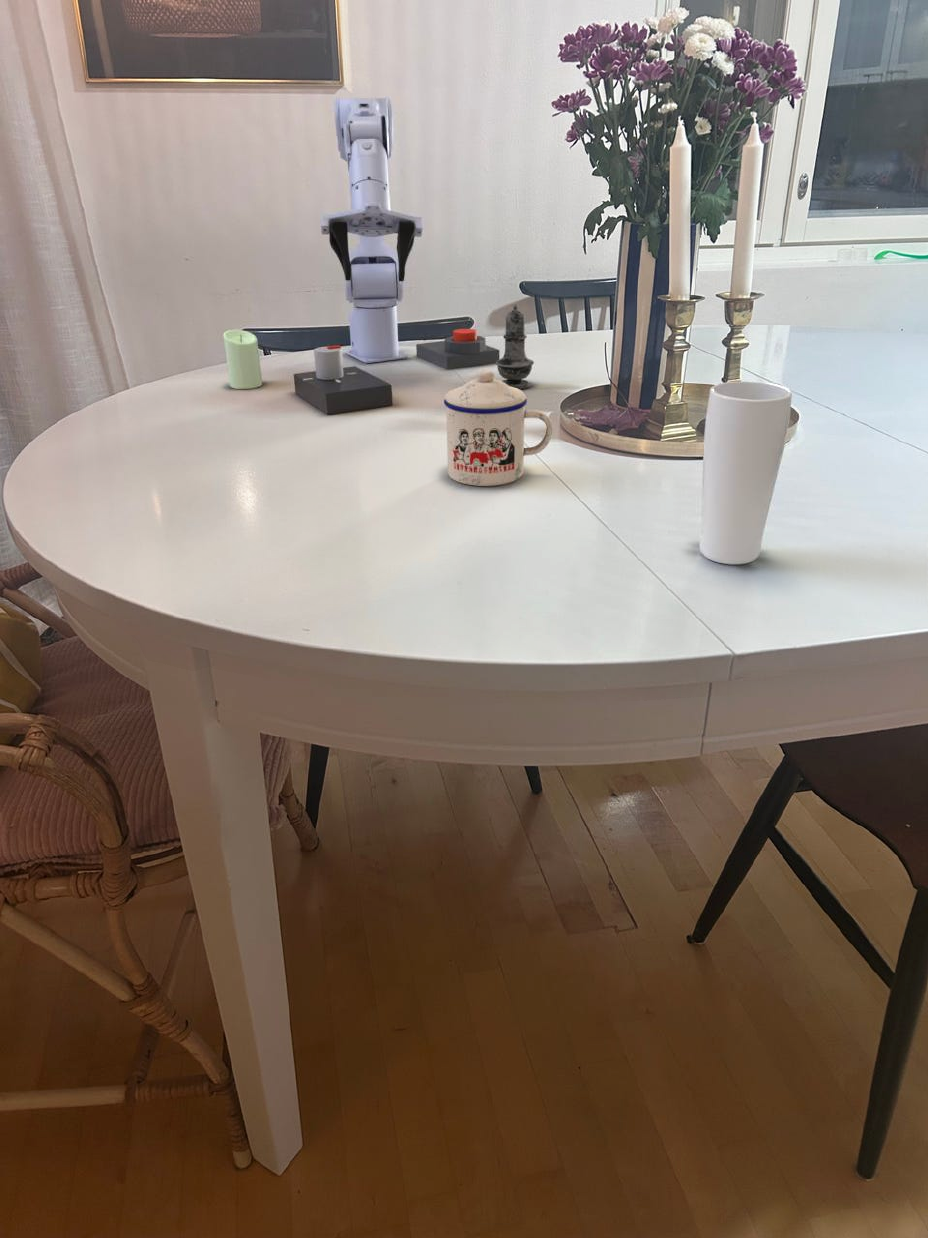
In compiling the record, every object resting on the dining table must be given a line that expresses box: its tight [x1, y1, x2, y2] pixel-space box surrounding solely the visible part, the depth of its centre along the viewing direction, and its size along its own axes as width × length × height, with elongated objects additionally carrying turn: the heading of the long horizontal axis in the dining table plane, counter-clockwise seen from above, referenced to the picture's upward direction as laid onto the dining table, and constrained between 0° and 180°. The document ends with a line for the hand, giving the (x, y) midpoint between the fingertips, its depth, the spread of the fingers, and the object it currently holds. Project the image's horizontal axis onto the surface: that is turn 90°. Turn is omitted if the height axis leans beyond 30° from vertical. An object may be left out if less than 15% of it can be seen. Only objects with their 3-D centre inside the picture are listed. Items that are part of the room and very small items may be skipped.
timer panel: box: [293, 365, 394, 416], centre depth 133 cm, size 14×10×3 cm
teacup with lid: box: [443, 369, 554, 487], centre depth 100 cm, size 12×9×12 cm
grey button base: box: [415, 335, 500, 370], centre depth 156 cm, size 12×10×4 cm
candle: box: [222, 329, 263, 390], centre depth 140 cm, size 5×5×8 cm
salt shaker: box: [495, 304, 535, 391], centre depth 137 cm, size 6×6×12 cm
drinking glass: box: [699, 380, 793, 565], centre depth 79 cm, size 7×7×15 cm
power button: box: [452, 328, 478, 342], centre depth 152 cm, size 4×4×2 cm
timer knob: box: [313, 344, 344, 380], centre depth 133 cm, size 4×4×4 cm
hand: (375, 276), depth 129 cm, fingers open, 7 cm apart
